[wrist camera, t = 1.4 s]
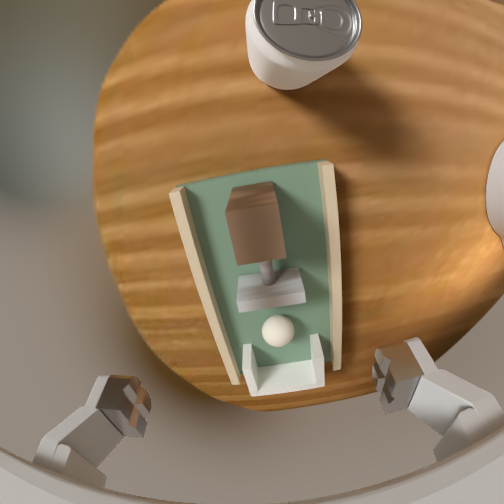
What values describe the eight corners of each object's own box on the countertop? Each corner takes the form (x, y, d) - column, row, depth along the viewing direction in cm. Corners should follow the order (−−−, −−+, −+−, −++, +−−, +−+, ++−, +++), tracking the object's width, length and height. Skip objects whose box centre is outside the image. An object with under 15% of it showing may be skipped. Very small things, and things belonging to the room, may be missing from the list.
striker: (285, 178, 25) (297, 200, 18) (299, 276, 29) (310, 321, 23) (218, 190, 25) (206, 216, 19) (241, 286, 30) (237, 331, 23)
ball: (291, 306, 31) (294, 327, 28) (294, 329, 32) (297, 350, 29) (259, 311, 31) (259, 332, 28) (264, 334, 33) (265, 355, 30)
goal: (318, 333, 33) (323, 357, 29) (319, 362, 35) (324, 386, 31) (243, 344, 33) (242, 369, 30) (251, 372, 36) (251, 396, 32)
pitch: (324, 159, 25) (333, 164, 22) (336, 353, 36) (340, 369, 33) (177, 185, 26) (168, 193, 24) (233, 368, 37) (232, 384, 34)
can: (320, 93, 22) (371, 78, 12) (247, 89, 22) (242, 64, 12) (321, 31, 20) (366, -21, 9) (249, 25, 20) (245, -36, 9)
